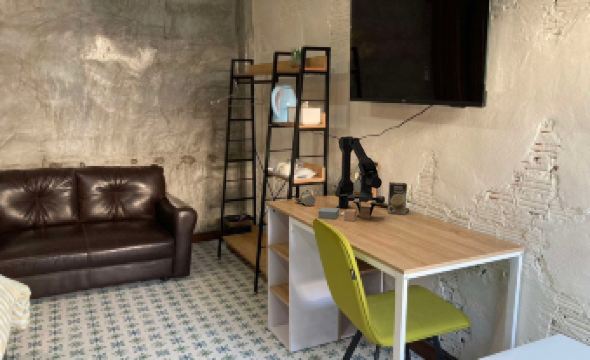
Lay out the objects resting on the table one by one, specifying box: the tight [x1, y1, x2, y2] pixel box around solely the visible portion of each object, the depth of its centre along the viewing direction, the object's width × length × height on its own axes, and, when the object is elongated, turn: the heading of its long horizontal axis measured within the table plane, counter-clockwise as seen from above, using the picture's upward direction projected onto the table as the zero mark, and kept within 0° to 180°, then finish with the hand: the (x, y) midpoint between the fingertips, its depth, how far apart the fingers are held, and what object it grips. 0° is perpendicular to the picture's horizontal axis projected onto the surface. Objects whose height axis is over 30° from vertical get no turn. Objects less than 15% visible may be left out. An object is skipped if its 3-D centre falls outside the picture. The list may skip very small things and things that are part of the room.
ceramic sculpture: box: [294, 189, 317, 207], centre depth 293 cm, size 11×9×15 cm
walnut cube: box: [359, 205, 372, 219], centre depth 263 cm, size 5×5×5 cm
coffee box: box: [387, 182, 408, 215], centre depth 272 cm, size 9×6×16 cm
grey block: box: [317, 207, 340, 220], centre depth 263 cm, size 9×9×4 cm
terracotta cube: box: [343, 208, 358, 222], centre depth 257 cm, size 5×5×5 cm
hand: (365, 215), depth 264 cm, fingers closed on walnut cube, 5 cm apart
